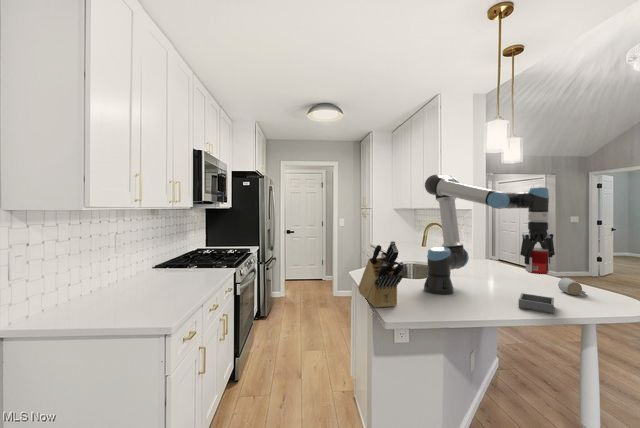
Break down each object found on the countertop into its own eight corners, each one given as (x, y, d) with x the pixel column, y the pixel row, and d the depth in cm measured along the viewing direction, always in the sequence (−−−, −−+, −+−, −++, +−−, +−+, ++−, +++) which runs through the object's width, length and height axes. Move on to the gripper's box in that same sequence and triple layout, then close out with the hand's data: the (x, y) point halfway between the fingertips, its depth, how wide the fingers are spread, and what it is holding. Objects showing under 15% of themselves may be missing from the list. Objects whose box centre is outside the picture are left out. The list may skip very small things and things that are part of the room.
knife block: (381, 315, 130) (381, 243, 129) (357, 292, 165) (357, 235, 164) (406, 314, 132) (406, 242, 131) (377, 291, 167) (378, 234, 166)
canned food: (551, 274, 136) (552, 250, 136) (531, 274, 138) (531, 249, 137) (542, 271, 143) (543, 247, 143) (523, 270, 145) (524, 247, 145)
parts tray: (518, 308, 140) (518, 299, 140) (521, 301, 150) (521, 293, 150) (553, 314, 132) (553, 304, 132) (553, 306, 142) (553, 297, 142)
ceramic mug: (568, 295, 159) (568, 281, 159) (557, 291, 167) (558, 277, 167) (590, 296, 158) (590, 281, 158) (578, 292, 166) (579, 278, 166)
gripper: (523, 222, 135) (522, 273, 136) (565, 221, 137) (564, 272, 138) (511, 221, 142) (510, 270, 143) (551, 220, 145) (550, 268, 146)
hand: (537, 271), depth 141 cm, fingers closed on canned food, 8 cm apart
